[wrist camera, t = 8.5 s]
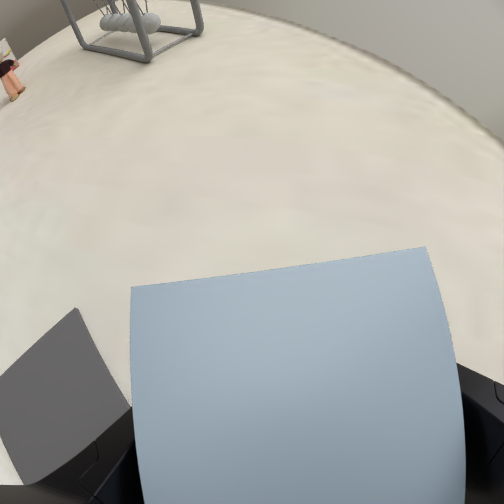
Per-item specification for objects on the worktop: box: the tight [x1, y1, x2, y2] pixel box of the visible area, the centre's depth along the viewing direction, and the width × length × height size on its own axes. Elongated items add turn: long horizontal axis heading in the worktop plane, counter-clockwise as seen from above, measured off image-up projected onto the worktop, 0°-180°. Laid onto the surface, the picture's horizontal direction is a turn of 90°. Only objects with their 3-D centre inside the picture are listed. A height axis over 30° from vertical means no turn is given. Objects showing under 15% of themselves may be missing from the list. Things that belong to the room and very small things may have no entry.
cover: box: [130, 246, 466, 504], centre depth 10 cm, size 7×7×10 cm
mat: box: [0, 308, 131, 485], centre depth 14 cm, size 16×14×1 cm
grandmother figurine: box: [0, 50, 25, 101], centre depth 35 cm, size 8×4×13 cm, turn 3°
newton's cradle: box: [61, 0, 204, 63], centre depth 32 cm, size 30×10×18 cm, turn 48°
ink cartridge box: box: [0, 38, 19, 71], centre depth 48 cm, size 9×5×15 cm, turn 42°
